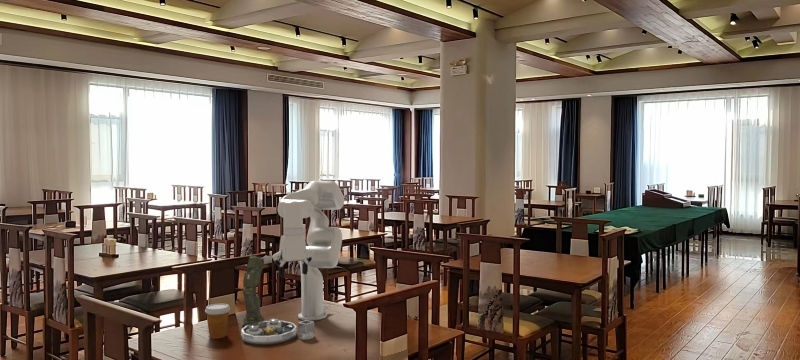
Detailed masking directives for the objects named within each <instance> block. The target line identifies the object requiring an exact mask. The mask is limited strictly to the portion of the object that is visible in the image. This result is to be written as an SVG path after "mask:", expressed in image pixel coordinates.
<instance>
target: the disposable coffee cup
mask: <svg viewBox="0 0 800 360" xmlns="http://www.w3.org/2000/svg"><path fill="white" fill-rule="evenodd" d="M230 310H231V307H230V305H229V304H227V303H213V304H208V305H207V306H206V307H205V310H204V312H205V314H206V321H207V326H208V334H209V338H211V339H223V338H226V336H227V333H228V323H229V314H230V313H229V312H230Z"/></svg>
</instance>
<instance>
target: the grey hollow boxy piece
mask: <svg viewBox="0 0 800 360" xmlns="http://www.w3.org/2000/svg"><path fill="white" fill-rule="evenodd" d="M297 332H298V339H300V340H305V341H306V340H311V339H314V338H315V321H314V320H313V321H308V320H302V321H299V322H298V323H297Z"/></svg>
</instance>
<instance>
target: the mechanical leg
mask: <svg viewBox="0 0 800 360" xmlns="http://www.w3.org/2000/svg"><path fill="white" fill-rule="evenodd" d="M264 265H265V258H263V257H262V256H259V255H250V256H249V257H248V263H247V267H246V271H245V272H244V274H243V281H242V284H243V287H242V293H243V299H244V300H243V301H244V306H245V311H246V313H245V317H244V319H243V324H242V326H241V327H242V328H241V329H243V328H244V327H245V326H246V325H250V324H253V323H256V322H263V321H265V317H263V315H262V314H261V298H260V296H259V295H258V294H257V286H259V284H260V280H261V275H262V273H263V272H262V271H263V268H264Z"/></svg>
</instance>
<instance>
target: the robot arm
mask: <svg viewBox="0 0 800 360" xmlns="http://www.w3.org/2000/svg"><path fill="white" fill-rule="evenodd" d="M344 205H345V197H344V194H343V192H342V190H341V188H340V186H339V185H338V183H337V182H335V181H333V180H312V181H309V182H308V183H307V185H305V187H304V188H302V189H300V190H297V191H294V192H291V193H287V194H286V195H284V196H283V197H282V198H281V199H280V201H279V202H278V206H277V213H278V215H279V216H280V217H281V218H283V221H282V223H283V235H281V237H280V240H279V241H280V242H279V249H278V250H279V251H277V252H276V253H274V254H273V255H272V256H271V258H272V260H273V262H274V264H275V265H277V266H278V275H279V277H281V278H284V277H285V267H284V265H285V264H286V263H287V262H299V267H300V283H301V287H300V290H301V293H300V294H301V297H300V298H301V302H300V303H301V312H300V313H298V314H297V317H298V319H299V320H302V321H305V320H308V321H313V322H314V321H320V320H324V319H325V318H327V316H328V314H327V312H326V310H329V309H330V308H331V305H330V304H328V303H327V304H325V305H324V277H323V274H322V272H321V271H320V270H319V269H333V268H336V266H337V265H338V262H339V261H340V260H339V258H340V254H341V250H342V249H341V248H342V244H343V234H342V230H341V229H340V228H339V227H337V226H329V225H330V220H329V217H327V215H326V214H325V213H324V212H323V211H322V210H326V211H329V210H332V211H333V210H335V211H336V210H341V209H342V208H343V207H344ZM307 218H310V222H309V227H308V230H307V229H306V228H304V227H303V226H304V225H303V223H304V220H303V219H307ZM307 231H308V232H307ZM305 232H307V235H306V238H305V234H304V233H305ZM278 258H279V260H278Z"/></svg>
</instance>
